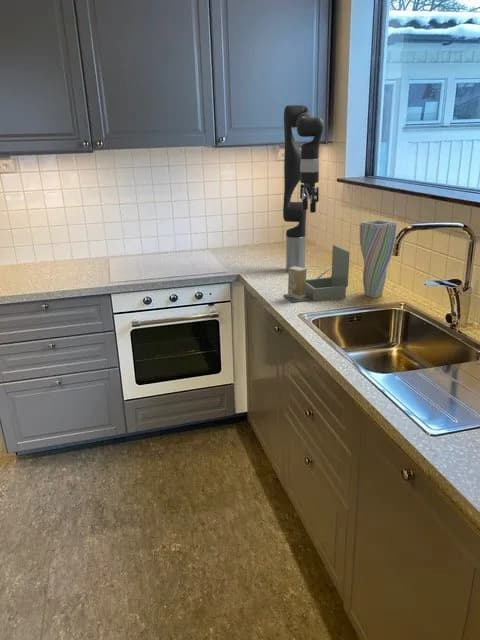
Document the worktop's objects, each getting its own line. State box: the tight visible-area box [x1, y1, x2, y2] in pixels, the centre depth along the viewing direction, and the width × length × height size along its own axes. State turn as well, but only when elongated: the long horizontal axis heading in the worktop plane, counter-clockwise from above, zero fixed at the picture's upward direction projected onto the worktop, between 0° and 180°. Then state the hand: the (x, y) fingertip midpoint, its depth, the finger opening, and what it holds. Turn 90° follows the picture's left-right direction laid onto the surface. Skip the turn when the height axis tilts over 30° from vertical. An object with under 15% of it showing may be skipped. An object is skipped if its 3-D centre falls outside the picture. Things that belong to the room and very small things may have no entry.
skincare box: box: [287, 266, 307, 299], centre depth 201 cm, size 6×4×12 cm
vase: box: [359, 219, 397, 299], centre depth 199 cm, size 14×14×30 cm
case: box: [305, 244, 350, 302], centre depth 204 cm, size 15×15×19 cm
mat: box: [283, 293, 312, 304], centre depth 203 cm, size 10×8×1 cm
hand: (308, 211), depth 206 cm, fingers open, 8 cm apart
